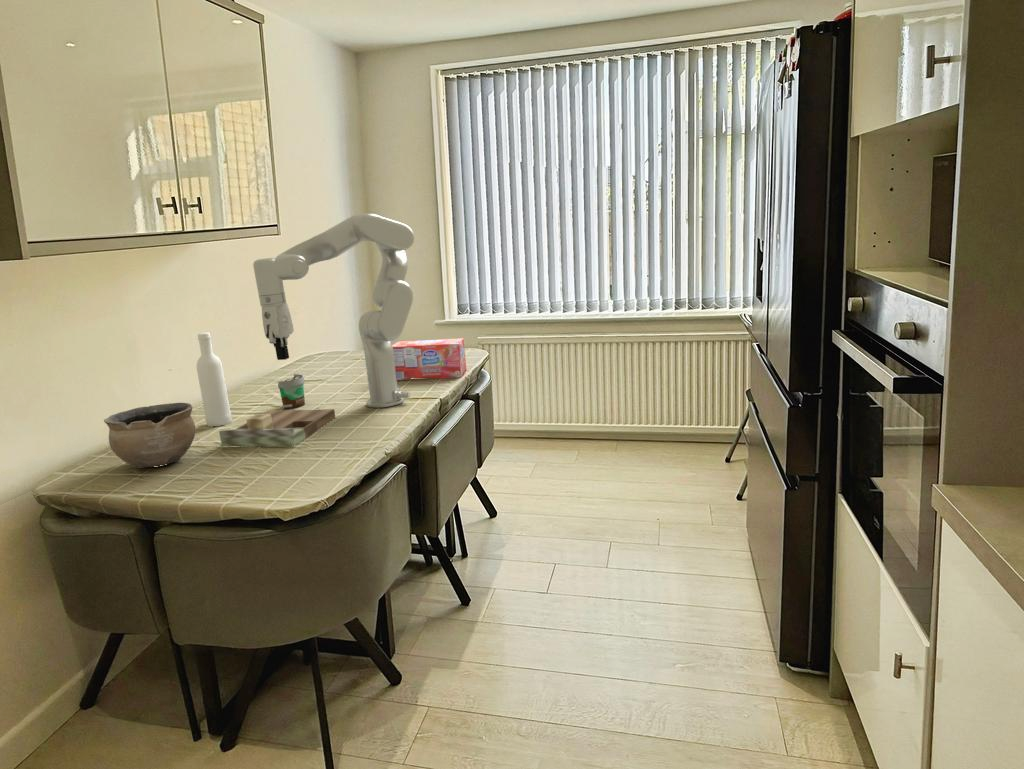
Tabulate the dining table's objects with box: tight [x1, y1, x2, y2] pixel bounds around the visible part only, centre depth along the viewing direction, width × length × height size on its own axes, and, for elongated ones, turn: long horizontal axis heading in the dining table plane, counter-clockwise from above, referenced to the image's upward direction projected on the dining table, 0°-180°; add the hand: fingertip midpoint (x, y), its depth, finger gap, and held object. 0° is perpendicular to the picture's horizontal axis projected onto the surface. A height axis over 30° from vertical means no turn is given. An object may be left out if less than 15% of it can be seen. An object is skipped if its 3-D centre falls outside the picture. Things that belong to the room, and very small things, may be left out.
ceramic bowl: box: [103, 402, 196, 468], centre depth 208 cm, size 22×22×15 cm
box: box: [392, 337, 467, 379], centre depth 291 cm, size 27×13×14 cm, turn 84°
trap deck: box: [219, 408, 336, 448], centre depth 230 cm, size 23×28×5 cm
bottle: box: [196, 331, 233, 427], centre depth 243 cm, size 8×8×30 cm
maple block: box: [245, 413, 273, 429], centre depth 219 cm, size 5×5×5 cm
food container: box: [277, 373, 306, 411], centre depth 261 cm, size 12×6×10 cm, turn 168°
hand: (283, 359), depth 231 cm, fingers closed
